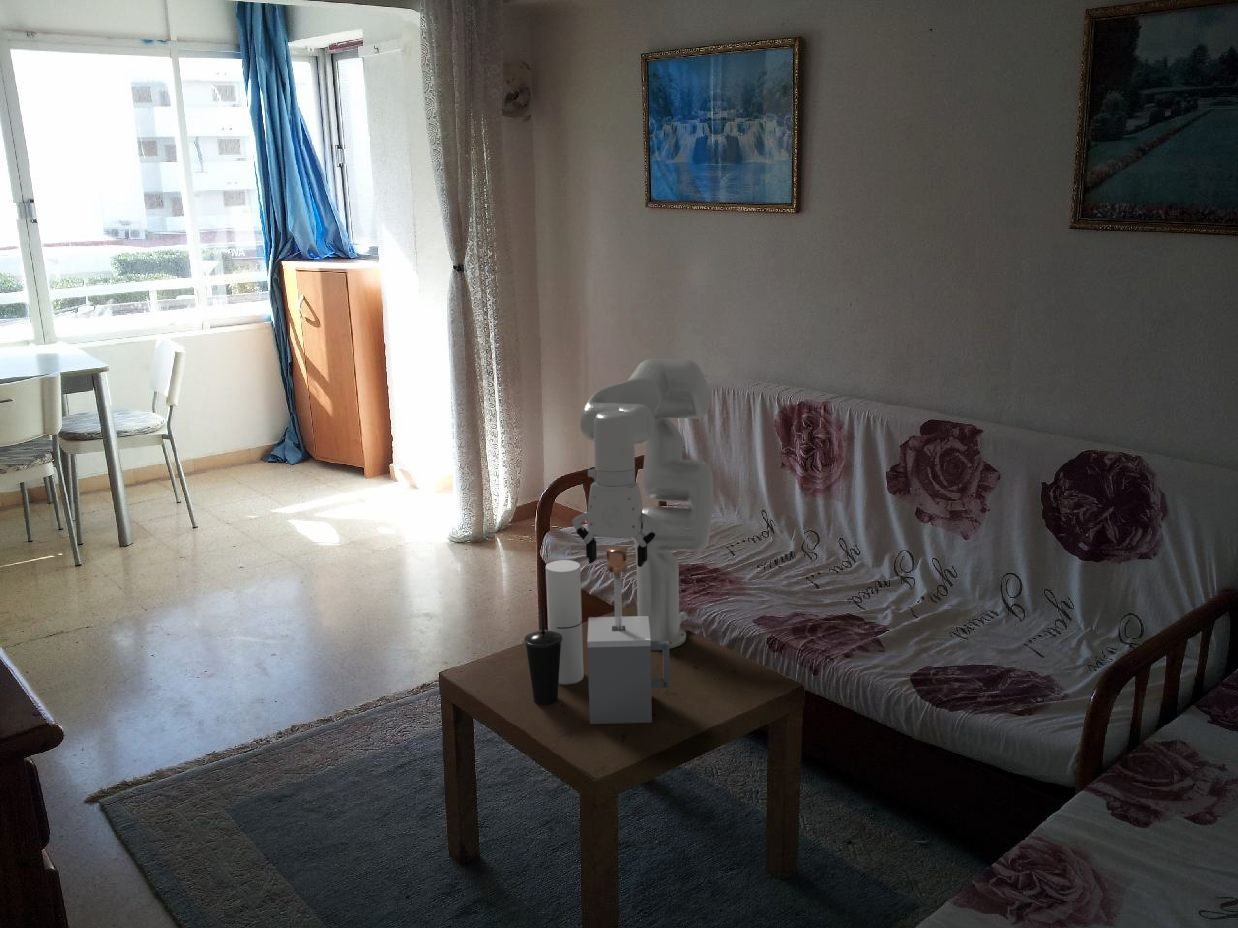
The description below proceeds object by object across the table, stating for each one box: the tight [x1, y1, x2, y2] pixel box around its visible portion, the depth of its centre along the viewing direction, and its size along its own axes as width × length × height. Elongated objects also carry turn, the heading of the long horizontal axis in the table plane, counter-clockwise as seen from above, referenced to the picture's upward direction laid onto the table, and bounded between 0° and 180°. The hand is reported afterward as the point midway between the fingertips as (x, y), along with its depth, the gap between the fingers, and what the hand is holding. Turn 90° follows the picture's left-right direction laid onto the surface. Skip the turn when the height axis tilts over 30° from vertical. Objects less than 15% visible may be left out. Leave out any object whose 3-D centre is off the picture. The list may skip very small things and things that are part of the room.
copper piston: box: [605, 545, 629, 631], centre depth 207 cm, size 9×9×23 cm
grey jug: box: [586, 615, 671, 725], centre depth 211 cm, size 16×12×17 cm
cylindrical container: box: [545, 559, 585, 685], centre depth 224 cm, size 7×7×25 cm
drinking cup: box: [523, 607, 562, 707], centre depth 215 cm, size 8×8×20 cm
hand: (616, 562), depth 205 cm, fingers open, 9 cm apart
